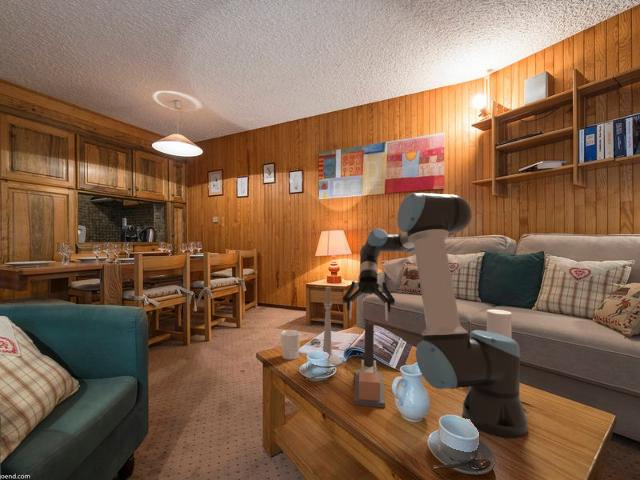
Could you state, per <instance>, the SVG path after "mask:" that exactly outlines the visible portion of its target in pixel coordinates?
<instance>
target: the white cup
mask: <svg viewBox="0 0 640 480" xmlns="http://www.w3.org/2000/svg"><path fill="white" fill-rule="evenodd" d="M280 337H281V352H282V353H281V354H282V357H281V358H283V359H284V360H296V359H298V358H299V356H300V355H299V354H300V346H301V345H300V343H301V331H299V330H296V329H286V330H283V331H281V333H280Z"/></svg>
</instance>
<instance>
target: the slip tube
mask: <svg viewBox="0 0 640 480" xmlns="http://www.w3.org/2000/svg"><path fill="white" fill-rule="evenodd" d="M374 327H375V325H374V324H372V323H365V324H364V372H367V373H374V343H375V342H374V335H375V334H374V332H375V331H374Z"/></svg>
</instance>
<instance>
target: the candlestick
mask: <svg viewBox="0 0 640 480" xmlns="http://www.w3.org/2000/svg"><path fill="white" fill-rule="evenodd" d="M331 289H332V288H331V287H330V286H326V287H325V302H324V303H323V305H324V309H325V313H324V314H325V315H324V316H325V317H324V331H323V346H322V347H323V349H322V352H323V351H324V352H327V353H328V354H329V356H330V358H329V361H330V363H331V364H332V365H335V366H336V367H338V366H337V365H339V364H341V363H342V362H343V363H344V360H343V361H342V360H341V359H340V358H339V357H338V356H337V355H336V354H337V353H336V354H335V352H333V351H332V348H333V347H332V328H331V327H332V324H331V318H332V317H331V309H332V305H333V303H332V301H331V298H332V297H331V296H332V295H331V293H332V292H331ZM343 363H342V364H343ZM342 364H341V365H342ZM339 366H340V365H339Z"/></svg>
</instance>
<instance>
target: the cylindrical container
mask: <svg viewBox="0 0 640 480" xmlns="http://www.w3.org/2000/svg"><path fill="white" fill-rule="evenodd" d="M512 317H513V314H512V312H510V311H508V310H503V309H492V308H491V309H486V331H487V332H492V333H497V334H500V335H504V336H507V337H509V338H512V331H513V329H512V321H513V320H512Z"/></svg>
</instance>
